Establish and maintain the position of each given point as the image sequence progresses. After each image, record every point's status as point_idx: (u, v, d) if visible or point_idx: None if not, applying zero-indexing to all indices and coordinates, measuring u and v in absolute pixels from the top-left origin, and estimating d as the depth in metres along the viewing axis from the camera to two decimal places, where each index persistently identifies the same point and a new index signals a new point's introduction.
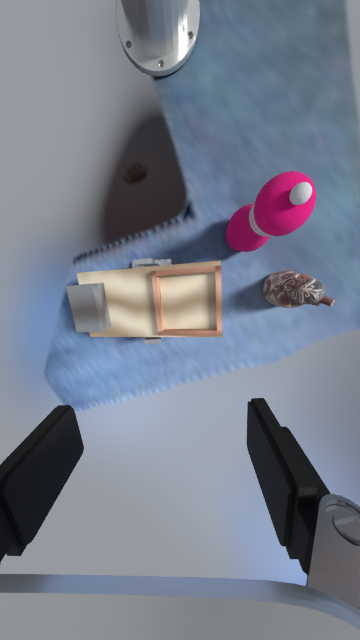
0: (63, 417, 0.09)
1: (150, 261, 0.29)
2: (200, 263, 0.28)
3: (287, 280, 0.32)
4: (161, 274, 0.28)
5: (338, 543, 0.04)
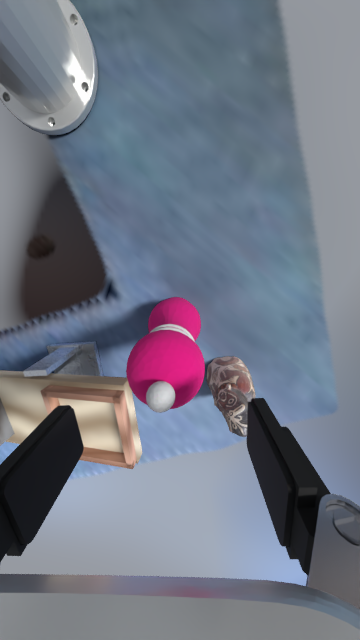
0: (63, 417, 0.09)
1: (44, 373, 0.23)
2: (100, 385, 0.22)
3: (223, 384, 0.26)
4: (52, 396, 0.22)
5: (338, 543, 0.04)
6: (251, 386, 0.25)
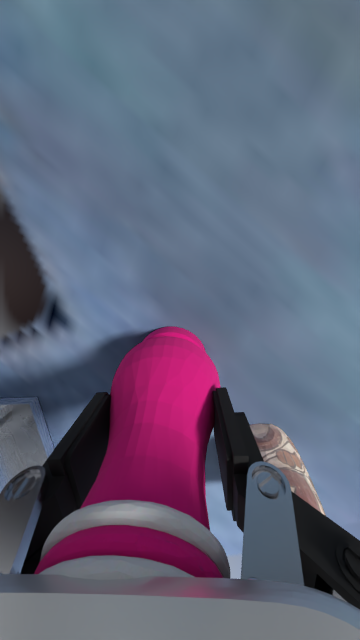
0: (104, 402, 0.10)
1: None
2: None
3: None
4: None
5: (262, 503, 0.05)
6: None
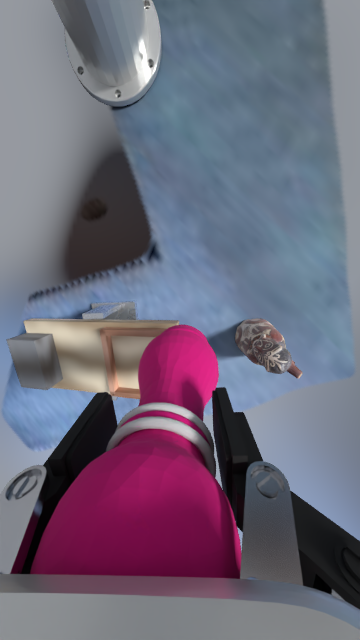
0: (105, 402, 0.10)
1: (101, 316, 0.26)
2: (154, 324, 0.24)
3: (256, 336, 0.29)
4: (110, 334, 0.25)
5: (261, 502, 0.05)
6: (283, 338, 0.28)
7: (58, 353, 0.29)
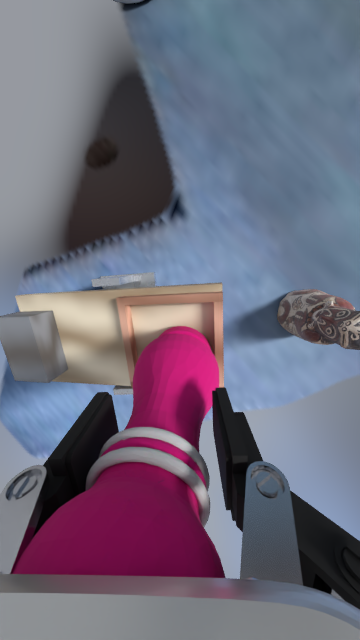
0: (105, 402, 0.10)
1: (116, 282, 0.20)
2: (190, 287, 0.18)
3: (316, 306, 0.22)
4: (132, 303, 0.18)
5: (260, 502, 0.05)
6: None
7: (61, 336, 0.23)
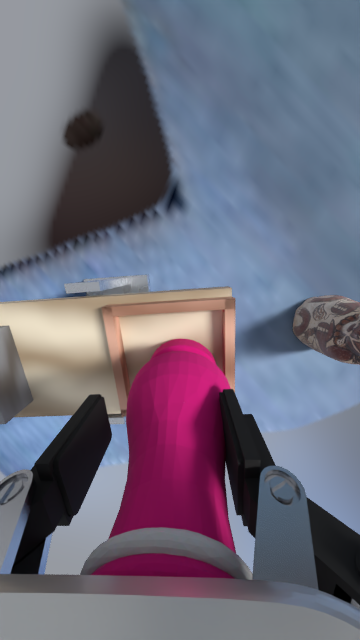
0: (97, 404, 0.09)
1: (96, 287, 0.15)
2: (195, 292, 0.15)
3: (346, 318, 0.18)
4: (122, 313, 0.15)
5: (275, 508, 0.05)
6: None
7: (22, 358, 0.17)
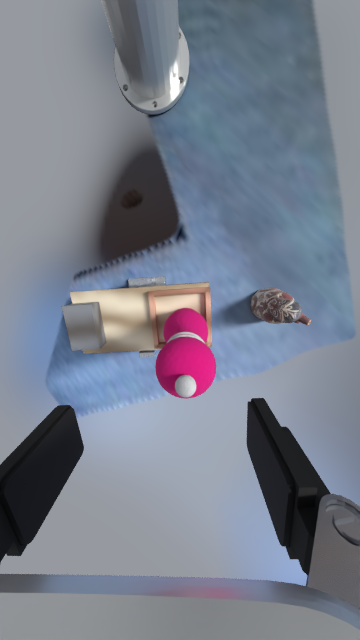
0: (63, 417, 0.09)
1: (144, 282, 0.32)
2: (191, 284, 0.32)
3: (271, 298, 0.35)
4: (157, 294, 0.31)
5: (338, 543, 0.04)
6: None
7: (103, 319, 0.34)
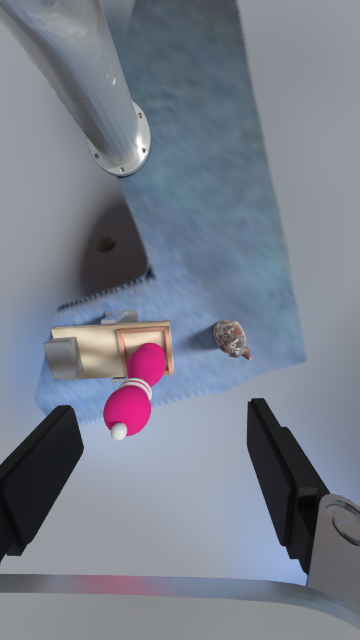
0: (63, 417, 0.09)
1: (114, 321, 0.38)
2: (154, 323, 0.37)
3: (225, 333, 0.40)
4: (124, 332, 0.37)
5: (338, 543, 0.04)
6: (243, 333, 0.39)
7: (80, 351, 0.40)
